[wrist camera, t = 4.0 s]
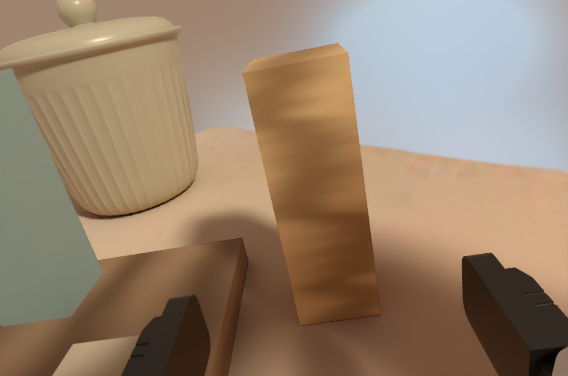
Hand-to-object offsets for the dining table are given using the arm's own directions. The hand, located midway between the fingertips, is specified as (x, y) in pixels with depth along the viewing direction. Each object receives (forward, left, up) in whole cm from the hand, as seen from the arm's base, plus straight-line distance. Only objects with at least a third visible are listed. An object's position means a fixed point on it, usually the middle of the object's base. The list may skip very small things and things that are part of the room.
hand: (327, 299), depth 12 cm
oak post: (0, -10, -8) cm, 13 cm away
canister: (+20, -32, -8) cm, 39 cm away
